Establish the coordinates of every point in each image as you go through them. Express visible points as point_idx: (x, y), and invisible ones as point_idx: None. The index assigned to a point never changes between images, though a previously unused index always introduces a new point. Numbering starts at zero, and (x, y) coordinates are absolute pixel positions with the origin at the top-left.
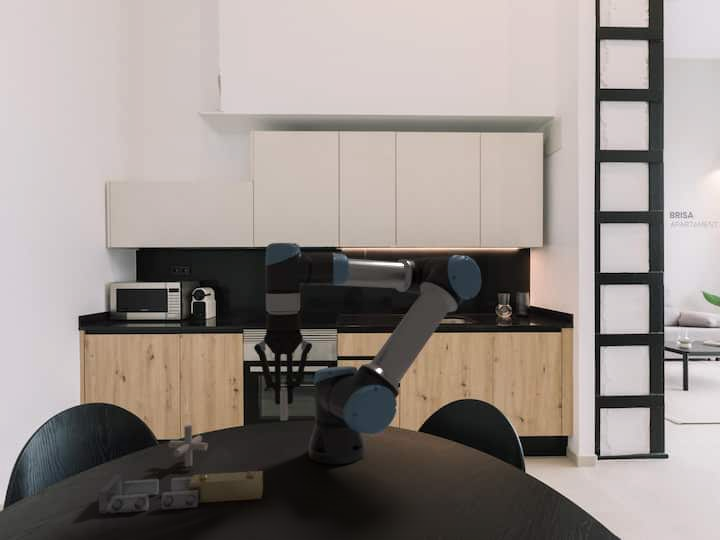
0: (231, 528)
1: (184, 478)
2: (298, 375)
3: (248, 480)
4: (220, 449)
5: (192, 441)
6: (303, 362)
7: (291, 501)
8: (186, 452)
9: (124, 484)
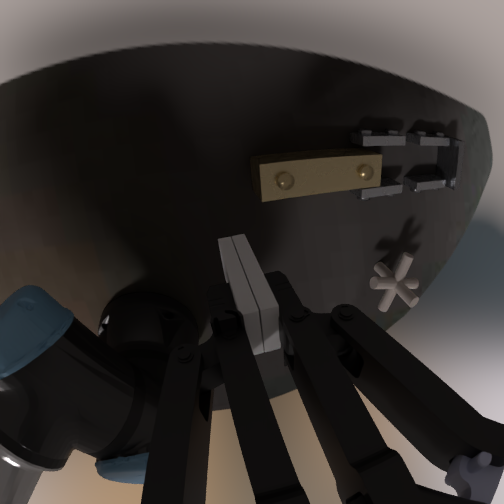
0: (280, 60)
1: (387, 190)
2: (186, 399)
3: (284, 161)
4: None
5: (393, 291)
6: (160, 483)
7: (188, 147)
8: (392, 273)
9: (444, 179)
